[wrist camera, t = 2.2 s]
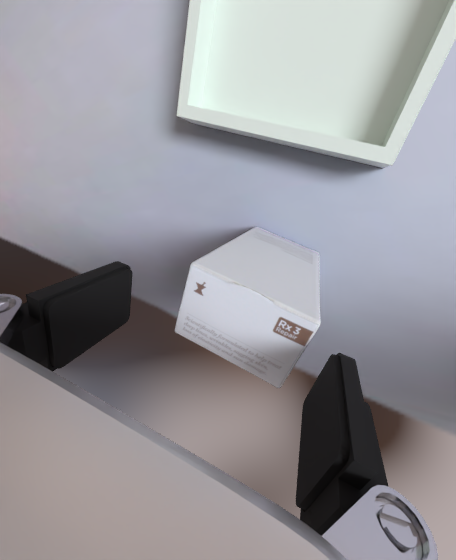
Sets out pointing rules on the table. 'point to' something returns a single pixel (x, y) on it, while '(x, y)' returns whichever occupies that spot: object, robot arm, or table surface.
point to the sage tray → (315, 71)
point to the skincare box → (254, 303)
